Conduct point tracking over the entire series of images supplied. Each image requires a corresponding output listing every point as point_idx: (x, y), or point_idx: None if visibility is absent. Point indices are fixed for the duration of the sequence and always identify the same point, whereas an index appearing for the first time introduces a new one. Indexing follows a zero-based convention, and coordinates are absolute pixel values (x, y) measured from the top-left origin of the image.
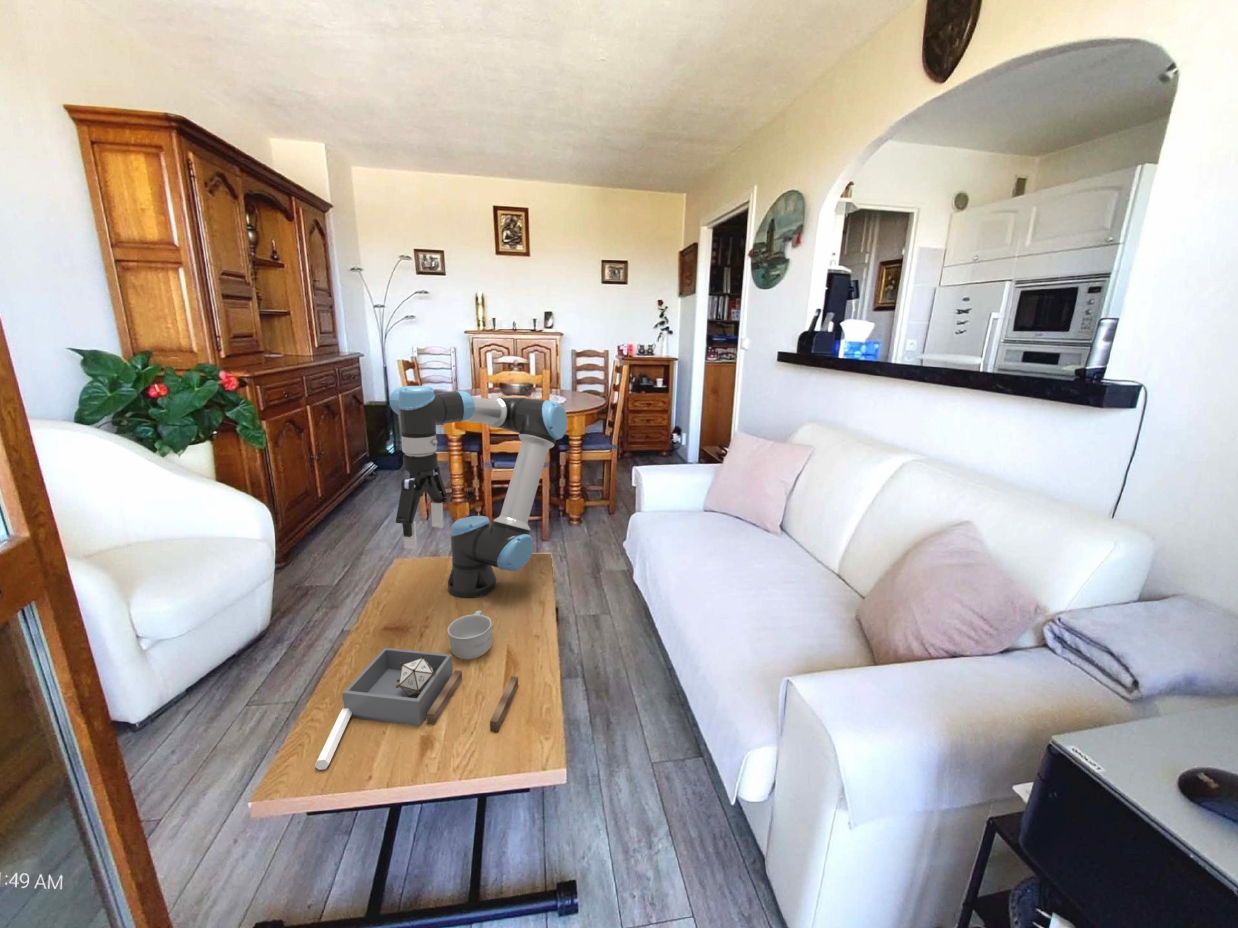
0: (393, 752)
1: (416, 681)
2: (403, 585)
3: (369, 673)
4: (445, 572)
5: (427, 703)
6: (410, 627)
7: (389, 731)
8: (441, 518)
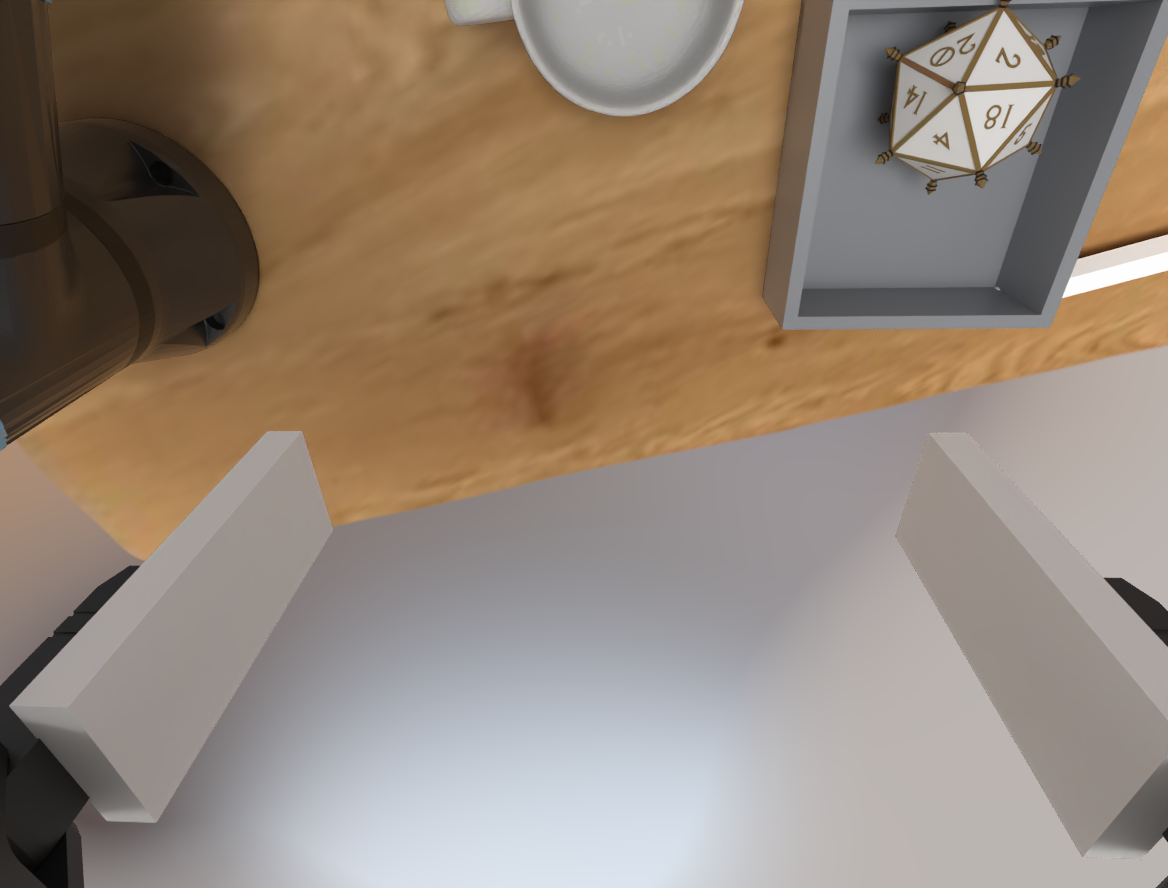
0: None
1: (1050, 62)
2: None
3: (906, 308)
4: (121, 403)
5: None
6: (516, 343)
7: None
8: (241, 507)
